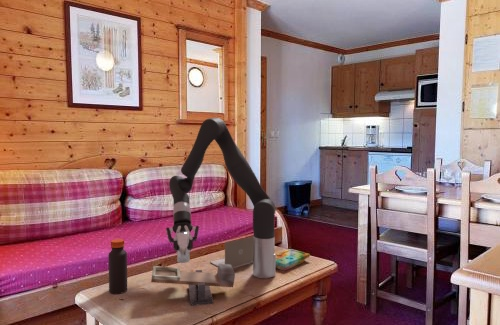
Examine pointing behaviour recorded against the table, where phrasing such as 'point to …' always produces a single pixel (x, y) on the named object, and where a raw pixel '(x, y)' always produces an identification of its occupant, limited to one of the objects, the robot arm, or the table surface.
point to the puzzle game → (290, 259)
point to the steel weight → (183, 247)
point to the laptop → (237, 253)
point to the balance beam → (194, 276)
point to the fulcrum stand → (200, 294)
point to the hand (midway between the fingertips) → (183, 249)
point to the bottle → (117, 267)
